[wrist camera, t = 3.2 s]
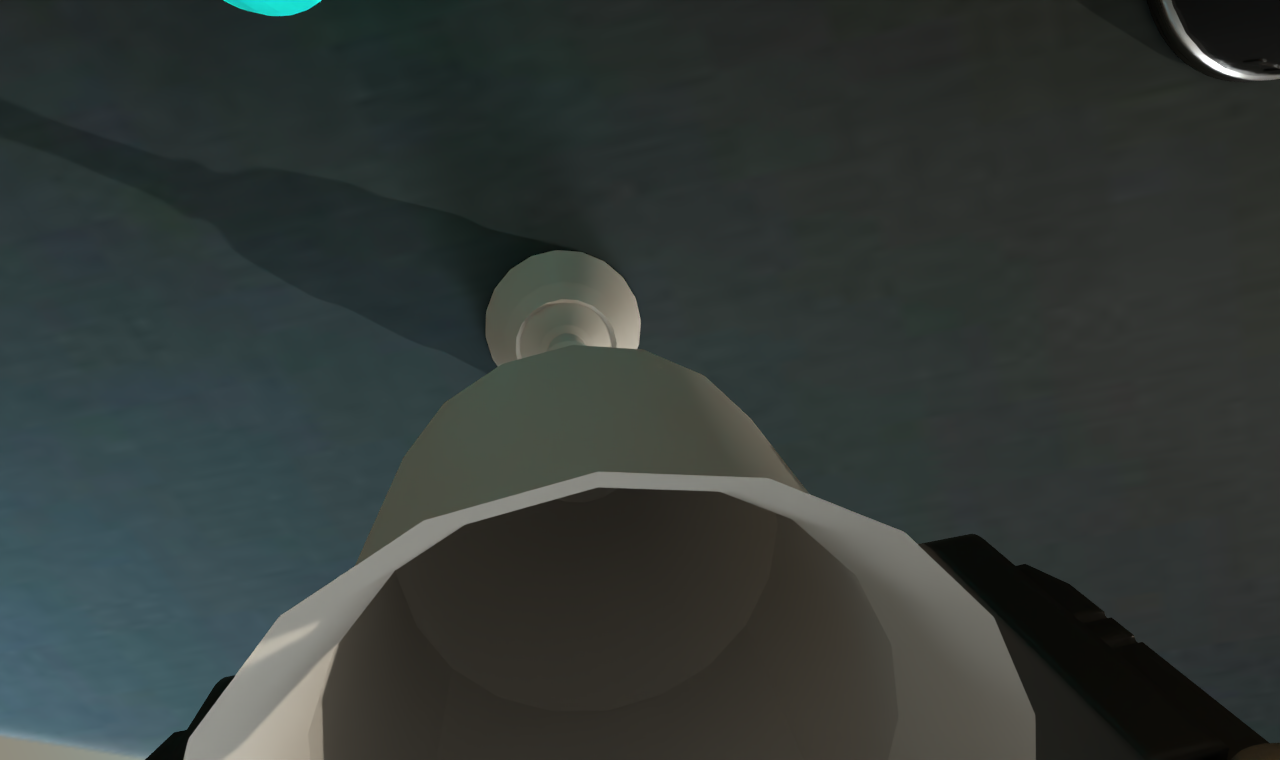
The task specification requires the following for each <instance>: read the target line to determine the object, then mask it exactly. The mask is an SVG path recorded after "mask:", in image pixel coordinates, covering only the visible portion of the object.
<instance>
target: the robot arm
mask: <svg viewBox="0 0 1280 760" xmlns="http://www.w3.org/2000/svg"><path fill="white" fill-rule="evenodd" d="M1147 2H1148V5H1149V9H1150V12H1151V14H1152V17H1153V19H1154V22H1155V24H1156V26H1157V28H1158V30H1159V32H1160V34H1161V35H1162V37H1163V38H1164V40H1165V41H1166V43H1167V44H1168V46H1169V47H1170V48H1171V49H1172V50H1173V51H1174V53H1175V54H1176V55H1177V56H1178V57H1179V58H1181V59H1182V60H1183V61H1184V62H1185V63H1186V64H1188V65H1189V66H1191V67H1192V68H1194V69H1195V70H1197V71H1199V72H1201V73H1203V74H1205V75H1208V76H1210V77H1213V78H1216V79H1221V80H1226V81H1234V82H1252V81H1263V80H1273V79H1280V0H1147ZM918 545H919V546H920V547H921V548H922V549H923V550H924V551H925V552H926V553H927V554H928V555H929V556H930V557H931V558H932V559H933V560H934V561H935V562H937V563H938V564H939V565H940V566H941V567H942V568H943V569H944V570H945V571H946V572H947V573H948V574H949V575H950V576H951V577H952V578H953V579H954V580H955V581H956V582H958V583H959V584H960V585H961V586H962V587H963V588H964V589H965V590H966V591H967V592H968V593H969V594H970V595H971V596H972V597H973V598H974V599H975V600H976V601H977V602H979V603H980V604H981V605H982V606H983V607H984V608H985V609H986V610H987V611H988V612H989V613H990V614H991V615H992V616H993V617H994V619H995V621H996V623H997V626H998V628H999V630H1000V633H1001V635H1002V638H1003V640H1004V642H1005V645H1006V647H1007V649H1008V652H1009V654H1010V656H1011V659H1012V661H1013V664H1014V666H1015V668H1016V671H1017V673H1018V675H1019V678H1020V680H1021V682H1022V685H1023V687H1024V690H1025V692H1026V694H1027V697H1028V699H1029V701H1030V704H1031V706H1032V709H1033V711H1034V713H1035V725H1036V760H1280V743H1269V742H1267V741H1266V740H1265V739H1264V738H1262V737H1261V736H1260V735H1258V734H1257V733H1256V732H1255V731H1253V730H1252V729H1251V728H1250V727H1248V726H1247V725H1246V724H1245V723H1243V722H1242V721H1241V720H1240V719H1238V718H1237V717H1236V716H1235V715H1233V714H1232V713H1231V712H1230V711H1228V710H1227V709H1226V708H1225V707H1223V706H1222V705H1221V704H1219V703H1218V702H1217V701H1216V700H1214V699H1213V698H1212V697H1211V696H1209V695H1208V694H1207V693H1206V692H1204V691H1203V690H1202V689H1201V688H1199V687H1198V686H1197V685H1196V684H1194V683H1193V682H1192V681H1191V680H1189V679H1188V678H1187V677H1186V676H1184V675H1183V674H1182V673H1180V672H1179V671H1178V670H1177V669H1175V668H1174V667H1173V666H1172V665H1170V664H1169V663H1168V662H1167V661H1165V660H1164V659H1163V658H1162V657H1160V656H1159V655H1158V654H1157V653H1155V652H1154V651H1153V650H1152V649H1150V648H1149V647H1148V646H1147V645H1145V644H1144V643H1143V642H1140V643H1137V642H1136V640H1135V638H1134V635H1133V634H1131V633H1130V632H1129V631H1128V630H1126V629H1125V628H1124V627H1123V626H1121V625H1120V624H1119V623H1118V622H1116V621H1115V620H1114V619H1113V618H1106V616H1105V613H1104V611H1103V610H1101V609H1100V608H1099V607H1097V606H1096V605H1095V604H1094V603H1092V602H1091V601H1090V600H1089V599H1087V598H1086V597H1085V596H1084V595H1082V594H1081V593H1080V592H1079V591H1077V590H1076V589H1075V588H1074V587H1072V586H1071V585H1070V584H1068V583H1066V582H1064V581H1061V580H1059V579H1057V578H1055V577H1053V576H1050V575H1048V574H1046V573H1044V572H1042V571H1040V570H1037V569H1035V568H1033V567H1031V566H1029V565H1026V564H1023V565H1018V566H1015V565H1014V564H1012V563H1011V562H1010V561H1009V560H1008V559H1006V558H1005V557H1004V556H1003V555H1002V554H1001V553H999V552H998V551H997V550H996V549H995V548H993V547H992V546H991V545H990V544H989V543H988V542H986V541H985V540H984V539H983V538H981V537H980V536H978V535H975V534H968V535H963V536H958V537H953V538H948V539H943V540H938V541H932V542H927V543H922V544H918ZM234 677H235V676H229V677H225V678H223V679H221V680H220V681H219V682H218V683H217V684H216V685H215V686H214V688H213V689H212V691H211V693H210V694H209V696H208V697H207V699H206V700H205V702H204V704H203V705H202V707H201V708H200V710H199V712H198V713H197V715H196V716H195V718H194V720H193V721H192V723H191V724H190V726H189V727H188V729H187V730H184V731H179V732H174V733H173V734H172V735H171V736H170V737H169V738H168V739H167V740H166V741H165V742H164V743H162V744H161V745H160V746H159V747H158V748H157V749H156V750H155V751H154V752H153V753H152V754H151V755H150V756H149V757H148V758H146V759H145V760H183V759H184V755H185V751H186V747H187V743H188V739H189V737H190V736H191V735H192V733H193V732H194V731H195V729H196V728H197V727H198V725H199V724H200V723H201V721H202V720H203V719H204V717H205V716H206V715H207V713H208V712H209V711H210V709H211V708H212V706H213V705H214V704H215V702H216V701H217V700H218V698H219V697H220V696H221V694H222V693H223V692H224V690H225V689H226V688H227V686H228V685H229V684H230V682H231V681H232V680H233V678H234Z"/></svg>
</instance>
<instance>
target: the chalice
mask: <svg viewBox="0 0 1280 760" xmlns="http://www.w3.org/2000/svg"><path fill="white" fill-rule="evenodd" d="M640 327H641V319H640V315H639V311H638V306H637V302H636V298H635V296H634V295H633V293H632V291H631V290H630V288H629V286H628V285H627V283H626V281H625V280H624V278H623V277H622V276H621V275H620V274H618V273H617V272H616V271H615V270H614V269H613V268H611V267H610V266H609V265H608V264H607V263H606V262H604V261H602V260H600V259H597V258H595V257H592V256H590V255H587V254H585V253H583V252H575V251H562V250H554V251H550V252H546V253H542V254H538V255H534V256H531V257H529V258H528V259H526V260H525V261H523V262H521V263H520V264H518V265H517V266H515V267H514V268H512V269H510V270H509V272H508V273H507V274H506V275H505V277H504V278H503V279H502V280H501V282H500V283H499V284H498V285H497V287H496V288H495V289H494V292H493V294H492V297H491V300H490V303H489V305H488V308H487V311H486V340H487V343H488V346H489V349H490V352H491V356H492V359H493V361H494V362H495V363H496V365H497V366H498V367H497V368H496V369H494V370H493V371H491V372H490V373H488V374H487V375H485V376H484V377H482V378H481V379H479V380H478V381H476V382H475V383H473V384H472V385H470V386H469V387H467V388H466V389H464V390H463V391H461V392H460V393H458V394H457V395H456V396H454V397H453V398H451V399H450V400H448V401H447V402H445V403H444V404H443V405H442V407H441V408H440V409H439V411H438V412H437V413H436V415H435V416H434V417H433V419H432V420H431V421H430V423H429V424H428V425H427V427H426V428H425V429H424V431H423V432H422V433H421V435H420V436H419V437H418V439H417V440H416V441H415V443H414V444H413V445H412V447H411V448H410V449H409V451H408V452H407V453H406V455H405V456H404V457H403V460H402V462H401V464H400V466H399V469H398V471H397V473H396V475H395V478H394V480H393V482H392V484H391V486H390V489H389V491H388V493H387V495H386V498H385V500H384V502H383V504H382V507H381V509H380V511H379V513H378V516H377V518H376V520H375V522H374V524H373V527H372V529H371V531H370V533H369V536H368V538H367V540H366V542H365V545H364V547H363V549H362V551H361V554H360V556H359V558H358V560H357V563H356V565H355V567H353V568H352V569H350V570H349V571H347V572H345V573H344V574H342V575H341V576H339V577H338V578H336V579H335V580H333V581H332V582H330V583H329V584H327V585H326V586H324V587H323V588H321V589H320V590H318V591H317V592H315V593H314V594H312V595H311V596H309V597H308V598H306V599H305V600H303V601H302V602H300V603H299V604H297V605H296V606H294V607H293V608H291V609H290V610H288V611H287V612H285V613H284V614H282V615H281V616H279V618H278V619H277V620H276V622H275V623H274V624H273V626H272V627H271V628H270V630H269V631H268V632H267V634H266V635H265V636H264V638H263V639H262V640H261V642H260V643H259V644H258V646H257V647H256V649H255V650H254V651H253V653H252V654H251V655H250V657H249V658H248V659H247V661H246V662H245V663H244V665H243V666H242V667H241V669H240V670H239V671H238V673H237V674H236V675H235V677H234V678H233V680H232V681H231V682H230V684H229V685H228V686H227V688H226V689H225V690H224V692H223V693H222V694H221V696H220V697H219V698H218V700H217V701H216V702H215V704H214V705H213V706H212V708H211V709H210V711H209V712H208V713H207V715H206V716H205V717H204V719H203V720H202V721H201V723H200V724H199V725H198V727H197V728H196V729H195V731H194V732H193V733H192V735H191V736H190V737H189V739H188V743H187V747H186V751H185V755H184V759H183V760H1036V725H1035V713H1034V711H1033V709H1032V706H1031V704H1030V701H1029V699H1028V697H1027V694H1026V692H1025V690H1024V687H1023V685H1022V682H1021V680H1020V678H1019V675H1018V673H1017V671H1016V668H1015V666H1014V664H1013V661H1012V659H1011V656H1010V654H1009V652H1008V649H1007V647H1006V645H1005V642H1004V640H1003V638H1002V635H1001V633H1000V630H999V628H998V626H997V623H996V621H995V619H994V617H993V616H992V615H991V614H990V613H989V612H988V611H987V610H986V609H985V608H984V607H983V606H982V605H981V604H980V603H979V602H977V601H976V600H975V599H974V598H973V597H972V596H971V595H970V594H969V593H968V592H967V591H966V590H965V589H964V588H963V587H962V586H961V585H960V584H959V583H958V582H956V581H955V580H954V579H953V578H952V577H951V576H950V575H949V574H948V573H947V572H946V571H945V570H944V569H943V568H942V567H941V566H940V565H939V564H938V563H937V562H935V561H934V560H933V559H932V558H931V557H930V556H929V555H928V554H927V553H926V552H925V551H924V550H923V549H922V548H921V547H920V546H919V545H918V544H917V543H916V542H914V541H913V540H912V539H911V538H910V537H909V536H908V535H907V534H906V533H905V532H903V531H900V530H898V529H895V528H893V527H890V526H888V525H885V524H883V523H880V522H878V521H875V520H873V519H870V518H867V517H865V516H862V515H860V514H857V513H855V512H852V511H850V510H847V509H845V508H842V507H840V506H837V505H835V504H832V503H830V502H827V501H825V500H822V499H820V498H817V497H815V496H812V495H810V494H809V493H808V492H807V490H806V489H805V488H804V486H803V485H802V484H801V483H800V481H799V480H798V479H797V477H796V476H795V475H794V474H793V472H792V471H791V470H790V469H789V467H788V466H787V465H786V463H785V462H784V461H783V460H782V458H781V457H780V456H779V454H778V453H777V452H776V451H775V449H774V448H773V447H772V445H771V444H770V443H769V442H768V440H767V439H766V438H765V436H764V435H763V434H762V433H761V431H760V430H759V429H758V427H757V426H756V425H755V424H754V422H753V421H752V420H751V418H749V417H748V416H747V415H746V414H745V413H744V412H743V411H742V410H741V409H740V408H739V407H738V406H736V405H735V404H734V403H733V402H732V401H731V400H730V399H729V398H728V397H727V396H726V395H725V394H724V393H722V392H721V391H720V390H719V389H718V388H717V387H716V386H715V385H714V384H713V383H712V382H711V381H709V380H708V379H707V378H706V377H705V376H704V375H701V374H699V373H697V372H694V371H692V370H690V369H687V368H685V367H682V366H680V365H678V364H675V363H673V362H671V361H668V360H666V359H664V358H661V357H659V356H657V355H654V354H652V353H650V352H647V351H645V350H642V349H637V348H638V346H639V337H640Z"/></svg>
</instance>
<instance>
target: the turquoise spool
mask: <svg viewBox="0 0 1280 760" xmlns="http://www.w3.org/2000/svg"><path fill="white" fill-rule="evenodd" d="M224 1H225V2H227V3H229V4H231V5H233V6H235V7H238V8H240V9H243V10H247V11H251V12H255V13H259V14H264V15H268V16H287V15H294V14H297V13H300V12H303V11H306V10H308V9H310V8H311V7H313V6H314V5H316V4H317V3H319V2H320V1H321V0H224Z"/></svg>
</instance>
